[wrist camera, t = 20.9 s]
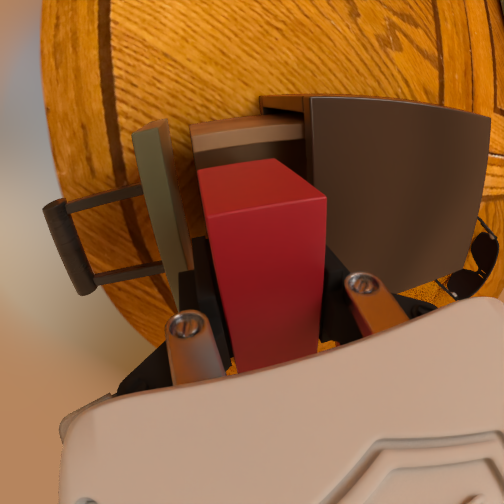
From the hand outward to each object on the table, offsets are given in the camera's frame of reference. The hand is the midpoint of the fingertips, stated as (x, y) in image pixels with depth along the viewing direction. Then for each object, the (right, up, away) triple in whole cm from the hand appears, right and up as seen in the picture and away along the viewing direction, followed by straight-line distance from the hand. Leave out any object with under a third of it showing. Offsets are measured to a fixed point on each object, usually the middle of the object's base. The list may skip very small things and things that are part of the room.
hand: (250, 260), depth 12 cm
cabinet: (+8, +7, +10) cm, 15 cm away
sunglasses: (+26, +1, +18) cm, 32 cm away
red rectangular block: (0, 0, +1) cm, 1 cm away
